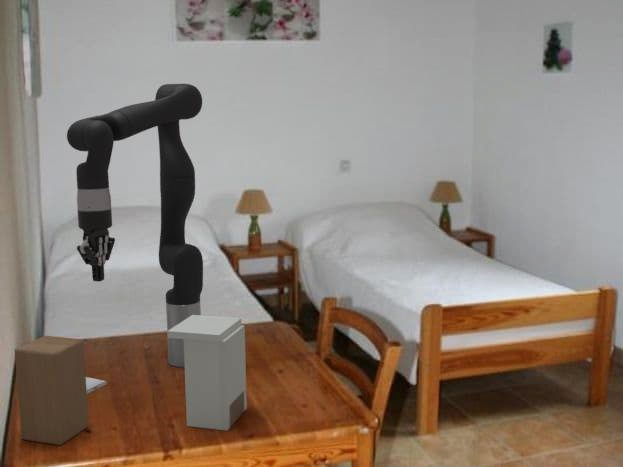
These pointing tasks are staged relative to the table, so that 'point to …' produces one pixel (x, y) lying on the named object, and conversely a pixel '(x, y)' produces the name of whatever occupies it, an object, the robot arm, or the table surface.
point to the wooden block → (52, 389)
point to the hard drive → (94, 384)
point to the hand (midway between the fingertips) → (98, 280)
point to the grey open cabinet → (213, 370)
